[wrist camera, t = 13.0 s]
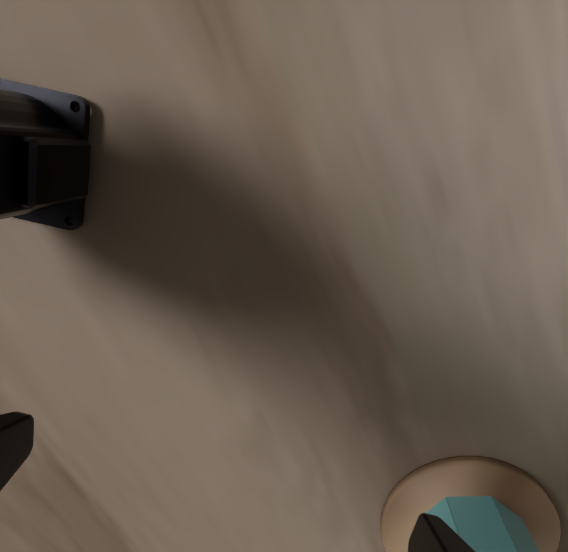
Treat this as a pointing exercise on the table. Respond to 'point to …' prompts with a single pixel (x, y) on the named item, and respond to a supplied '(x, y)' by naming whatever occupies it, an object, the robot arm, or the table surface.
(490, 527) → the teal lidded canister
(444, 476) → the tan round disc
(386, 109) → the table surface
